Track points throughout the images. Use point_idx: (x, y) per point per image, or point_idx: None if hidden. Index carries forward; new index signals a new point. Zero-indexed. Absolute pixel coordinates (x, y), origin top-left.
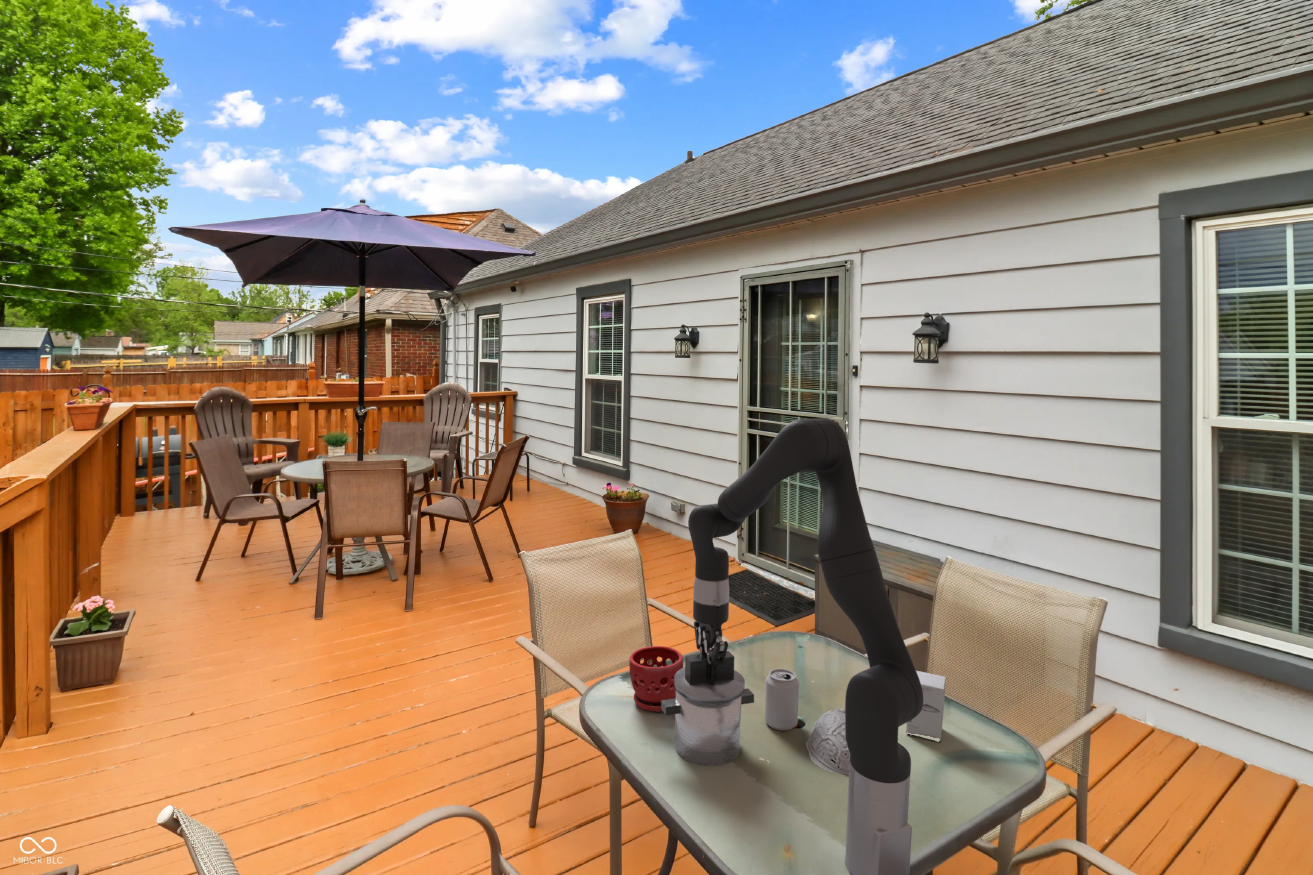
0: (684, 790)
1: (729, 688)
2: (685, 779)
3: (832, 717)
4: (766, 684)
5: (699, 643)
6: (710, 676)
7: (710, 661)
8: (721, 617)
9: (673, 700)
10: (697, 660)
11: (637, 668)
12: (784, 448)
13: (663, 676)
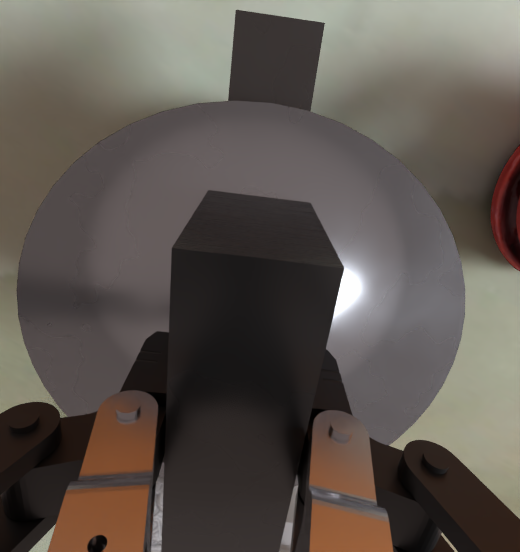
0: (52, 28)
1: (95, 381)
2: (108, 63)
3: (160, 538)
4: (291, 511)
5: (344, 520)
6: (159, 342)
7: (95, 422)
8: None
9: (291, 99)
10: (183, 332)
11: None
12: None
13: None
